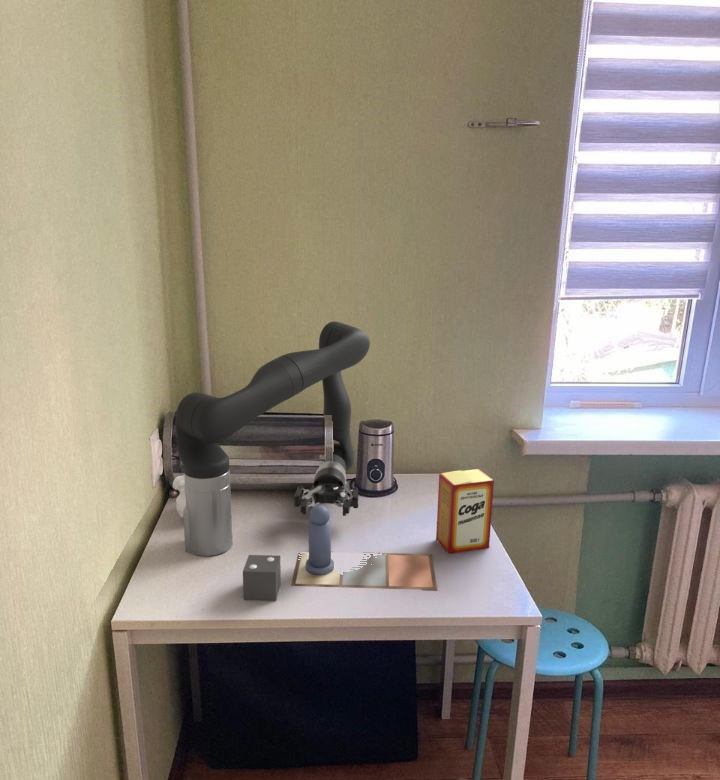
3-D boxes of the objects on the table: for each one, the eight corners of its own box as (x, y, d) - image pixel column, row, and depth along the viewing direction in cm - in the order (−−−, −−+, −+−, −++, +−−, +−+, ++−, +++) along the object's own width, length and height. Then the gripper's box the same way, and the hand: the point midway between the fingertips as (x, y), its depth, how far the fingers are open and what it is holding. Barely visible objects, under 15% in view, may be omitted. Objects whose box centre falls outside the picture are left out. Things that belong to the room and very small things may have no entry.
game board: (290, 588, 127) (290, 585, 127) (298, 553, 140) (298, 550, 140) (437, 592, 127) (437, 589, 127) (431, 556, 140) (431, 554, 140)
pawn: (304, 574, 131) (303, 512, 127) (307, 560, 136) (307, 499, 133) (332, 575, 131) (333, 512, 127) (334, 561, 136) (334, 500, 133)
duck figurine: (193, 513, 162) (161, 481, 158) (217, 494, 162) (186, 461, 158) (189, 536, 150) (155, 502, 147) (215, 516, 150) (181, 481, 147)
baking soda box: (474, 534, 149) (479, 467, 145) (489, 547, 143) (494, 478, 139) (436, 539, 146) (439, 471, 142) (448, 554, 140) (452, 483, 136)
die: (243, 600, 122) (242, 570, 121) (249, 582, 128) (248, 554, 127) (276, 601, 122) (275, 571, 121) (280, 583, 128) (280, 555, 126)
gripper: (299, 466, 157) (291, 494, 142) (359, 467, 157) (357, 496, 141) (300, 495, 159) (291, 526, 144) (359, 496, 159) (357, 528, 143)
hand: (324, 511), depth 143 cm, fingers open, 8 cm apart
